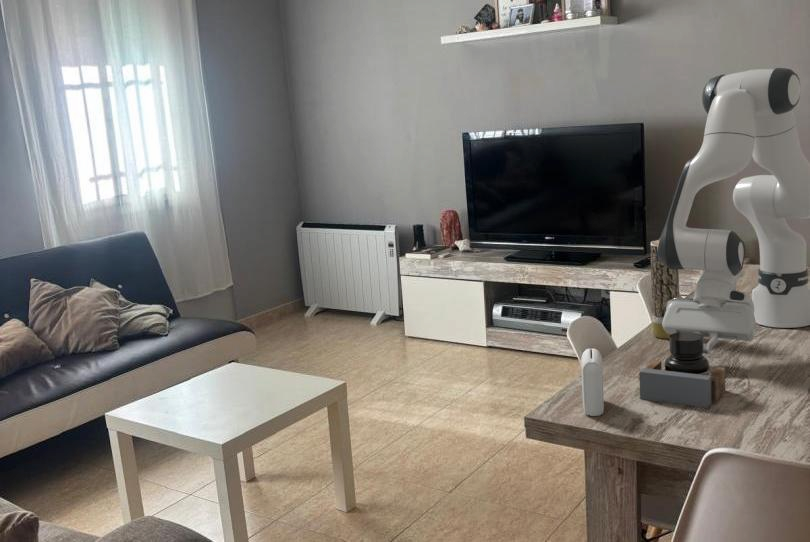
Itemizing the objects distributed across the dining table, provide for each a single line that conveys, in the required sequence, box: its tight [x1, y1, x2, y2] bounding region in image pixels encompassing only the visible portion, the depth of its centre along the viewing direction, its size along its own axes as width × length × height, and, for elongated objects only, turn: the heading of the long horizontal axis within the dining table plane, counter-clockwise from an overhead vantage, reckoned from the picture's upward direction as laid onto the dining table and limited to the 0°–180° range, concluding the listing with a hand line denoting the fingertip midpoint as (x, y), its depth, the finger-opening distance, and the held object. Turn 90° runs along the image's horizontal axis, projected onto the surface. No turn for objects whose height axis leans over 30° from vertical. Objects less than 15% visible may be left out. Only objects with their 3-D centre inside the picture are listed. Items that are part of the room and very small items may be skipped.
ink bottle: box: [664, 332, 710, 376], centre depth 175 cm, size 10×9×12 cm
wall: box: [638, 367, 713, 409], centre depth 170 cm, size 2×14×6 cm, turn 55°
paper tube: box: [650, 239, 680, 340], centre depth 213 cm, size 7×7×25 cm
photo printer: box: [580, 348, 605, 417], centre depth 170 cm, size 10×4×12 cm, turn 168°
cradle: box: [646, 360, 726, 405], centre depth 175 cm, size 8×15×5 cm, turn 55°
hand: (702, 352), depth 185 cm, fingers closed
